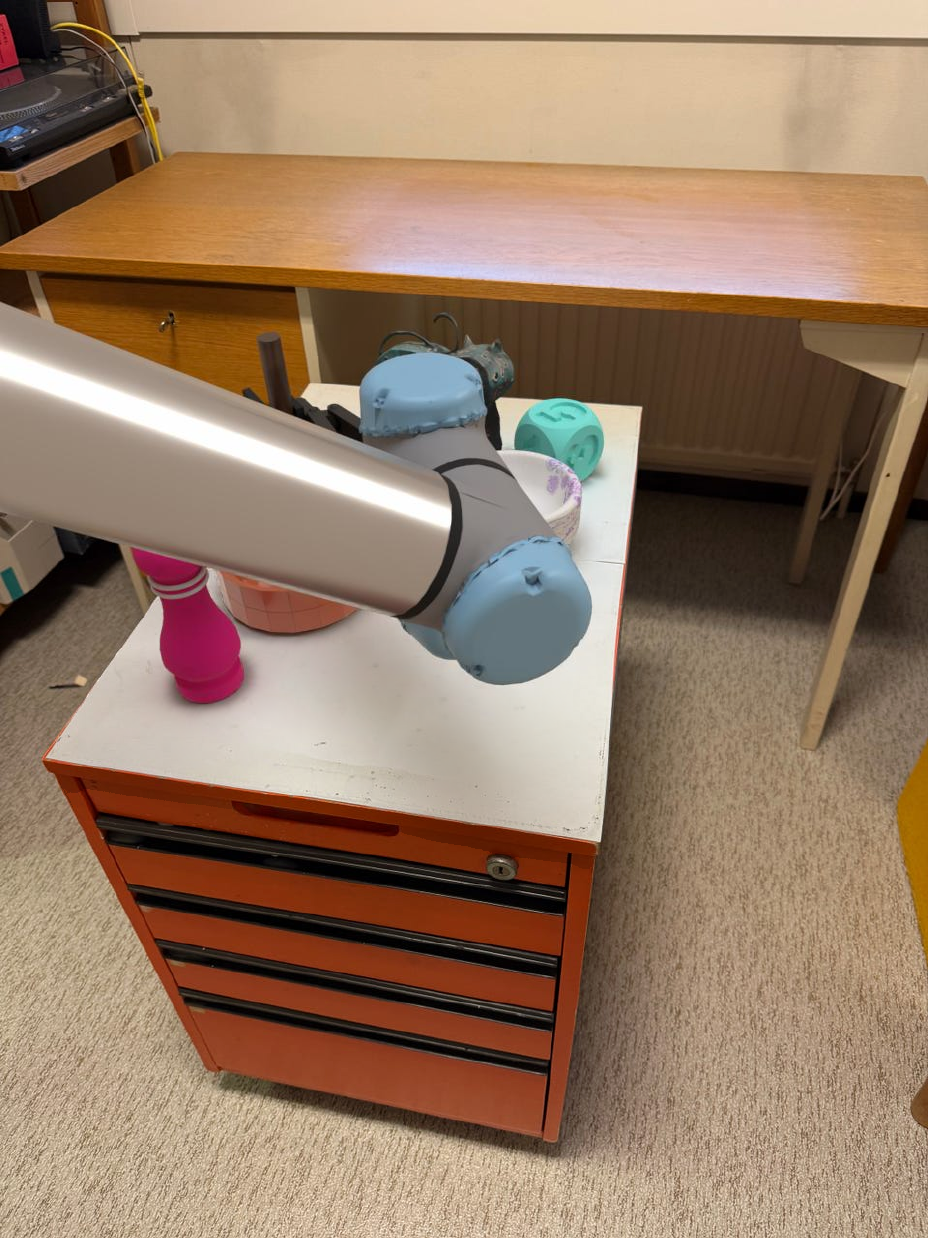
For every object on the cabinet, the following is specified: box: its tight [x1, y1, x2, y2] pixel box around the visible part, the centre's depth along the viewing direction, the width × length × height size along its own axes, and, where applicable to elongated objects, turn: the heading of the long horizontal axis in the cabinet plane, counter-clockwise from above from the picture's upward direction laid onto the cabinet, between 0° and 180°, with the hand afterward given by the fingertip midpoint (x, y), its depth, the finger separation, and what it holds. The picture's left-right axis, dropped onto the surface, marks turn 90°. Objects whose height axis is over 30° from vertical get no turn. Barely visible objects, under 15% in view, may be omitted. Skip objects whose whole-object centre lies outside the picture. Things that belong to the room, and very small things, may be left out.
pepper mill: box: [131, 547, 245, 704], centre depth 78 cm, size 7×7×20 cm
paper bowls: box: [497, 449, 583, 546], centre depth 97 cm, size 15×15×8 cm
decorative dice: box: [513, 397, 605, 482], centre depth 109 cm, size 8×8×8 cm
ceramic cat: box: [373, 312, 515, 451], centre depth 107 cm, size 20×6×20 cm, turn 54°
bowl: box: [215, 570, 359, 633], centre depth 93 cm, size 16×16×6 cm
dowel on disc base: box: [256, 331, 295, 417], centre depth 81 cm, size 6×6×18 cm
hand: (262, 398), depth 84 cm, fingers closed on dowel on disc base, 2 cm apart
